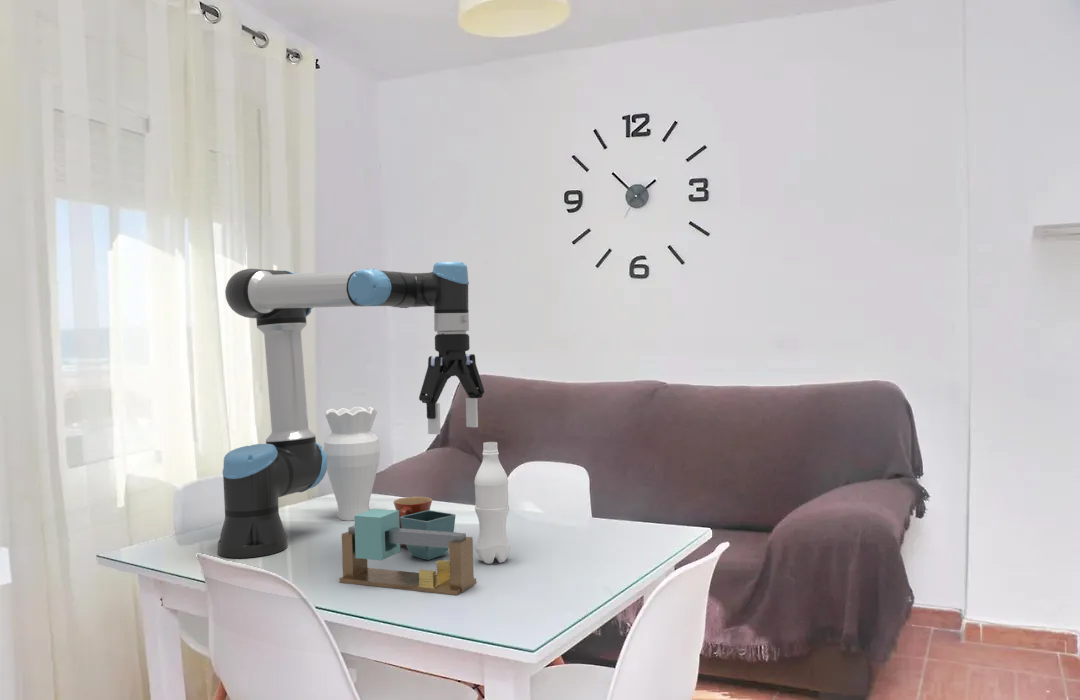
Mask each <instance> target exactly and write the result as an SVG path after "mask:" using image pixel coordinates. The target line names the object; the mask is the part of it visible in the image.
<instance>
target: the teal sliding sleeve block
mask: <svg viewBox="0 0 1080 700" xmlns="http://www.w3.org/2000/svg"><path fill="white" fill-rule="evenodd" d="M354 519H355V521H354V525H355V552H356V558H360V559H367V560H372V561H384V560H386V559H388V558H391V557H393V556H395V555H397V554H399V553H400V552H401V545H400V544H395V543H385V531H387V530H390V529H392V528H400V527H399V510H396V509H379V508H372V509H369V511H366V512H363V513H361V514H358V515H355V516H354Z"/></svg>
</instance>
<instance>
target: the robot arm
mask: <svg viewBox="0 0 1080 700" xmlns="http://www.w3.org/2000/svg"><path fill="white" fill-rule="evenodd" d="M468 271H469V270H468V266H467V264H466V263H464V262H461V261H439V262H435V263H434V264H433V267H432V271H431V272H413V273H412V272H404V271H403V272H402V271H392V270H391V271H390V270H382V269H381V270H379V269H376V268H364V269H359V270H352V271H350V270H349V271H327V272H326V271H325V272H306V273H305V272H303V273H297V272H292V271H289V270H277V269H276V270H274V269H259V268H247V269H242V270H239V271H237V272H235V273H234V274H233V275H232V276H231V277H230V278H229V279H228V281H227V283H226V286H225V290H224V291H225V299H226V302H227V305H228V306H229V307H230V309H231V310H232V311H234V312H235V314H237V315H239V316H241V317H244V318H248V319H255V320H256V328H257V329H258V330H259V331H261V332H262V334H263V336H264V349H265V350H264V351H265V361H266V375H267V376H266V377H267V387H268V399H269V400H268V401H269V412H270V415H269V416H270V423H271V424H270V425H271V426H270V427H271V433H270V434H269V436H268V437H267V438H266V439H265V443H256V444H251V445H245V446H241V447H238V448H234V449H232V450H230V451H228V452H227V453H226V454H225V455H224V457H223V467H222V476H223V477H222V478H223V481H222V482H223V497H224V498H223V499H224V501H223V502H224V522H223V524H222V527H221V528H222V529H221V532H220V537H219V540H218V542H217V554H218V555H219V556H220V557H223V558H231V559H242V558H243V559H245V558H247V559H248V558H257V557H263V556H268V555H269V556H270V555H271V554H272V555H273V554H276V553H280V552H282V551H284V550H286V549H287V548H288V545H289V543H288V542H289V541H288V540H289V539H288V535H287V533H286V531H285V528H284V525H283V523H282V519H281V516H280V511H279V498H281V497H284V496H285V497H286V496H288V495H292V494H296V493H304V492H305V491H308V490H309V489H313V488H315V487H316V486H318V485H320V483H321V481H322V480H323V479H324V477H325V476H326V473H327V456H326V453H325V451H324V448H323V447H322V445H320V443H318V442H317V439H316V438H317V437H316V434H315V433H313V432H312V430H310V429H309V417H308V407H307V404H308V403H307V393H306V383H305V381H306V380H305V369H304V366H305V365H304V355H303V354H304V353H303V343H302V342H303V341H302V330H303V329H304V328H305V327H306V326H307V317H308V316H309V315H310V314H311V313H312V309H314V308H342V307H343V308H345V307H349V308H350V307H392V308H400V309H409V308H423V307H433V310H434V311H433V312H434V313H433V317H434V318H433V323H434V325H433V328H434V332H436V334H435V335H434V350H435V351H436V352H437V353H438V355H437V356H435V355H434V356H433V355H431V356H428V358H427V359H428V361H427V368H426V372H425V374H424V375H425V376H424V379H423V383H422V385H421V390H420V394H419V396H418V400H419V401H421V403H422V404H426V418H427V434H428V435H441V404H440V403H439V402H438V400H439V398H440V397H441V394H442V393H443V390H444V388H445V386H446V383H447V382H448V380H449V379H451V377H457V378H458V380H459V383H460V384H461V386H462V388H463V389H464V391H465V393H466V395H467V396H468V397H465V426H466V428H478V427H479V399H481V398H483V395H484V394H485V388H484V385H483V382H482V380H481V376H480V373H479V370H478V367H477V364H476V363H477V362H476V355H475V354H474V353H470V354H467V353H466V352H468V351H469V350H470V348H471V347H470V335H469V334H468V333H467V332H469V331H470V320H469V318H470V317H469V315H470V314H469V311H470V310H469V284H470V281H469V273H468Z"/></svg>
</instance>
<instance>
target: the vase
mask: <svg viewBox="0 0 1080 700" xmlns="http://www.w3.org/2000/svg"><path fill="white" fill-rule="evenodd" d="M377 413H378V411H377V410H376V409H375V408H373V407H371V406H369V407H368V408H367V409H366V408H364V407H362V406H353V407H352V408H350V409H348V408H345V407H342V408H340V409H338V410H337V409H335V408H329V409H327V410H326V411H325V413H324V416H325V418H326V421H327V423H328V426H329V429H330V431H331V433H330V434H328V436H327V437H326V438H325V440H324V444H323V450H324V451H325V453H326V456H327V470H326V473H327V476H328V478H329V482H330V484H331V487H332V488H331V489H332V490H333V494H334V497H335V500H336V503H337V504H336V505H337V509H338V511H337V513H338V516H337V517H338V519H339V520H340V521H345V522H346V521H347V522H351V521H352V522H355V519H354V516H355V515H358V514H361V513H363V512H366V511H369V510H370V501H371V496H372V493H373V488H374V485H375V480H376V477H377V471H378V467H379V465H380V456H381V455H380V453H381V447H380V441H379V438H378V436H377V434H375V433H374V432H373V431H372V427H373V424H374V421H375V419H376V416H377Z"/></svg>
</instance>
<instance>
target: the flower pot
mask: <svg viewBox="0 0 1080 700" xmlns="http://www.w3.org/2000/svg"><path fill="white" fill-rule="evenodd" d="M400 520H401V526H402V528H403V529H416V530H429V531H442V532H455V525H456V524H455V523H456V514H454V513H449V512H443V511H437V510H431V509H430V510H428V511H423V512H419V513H414V514H410V515H406V516H402V517H400ZM406 546H407V548H406V549H407V550H408V552H409V553H410V554H411V556H412V557H414V558H418V559H423V560H427V561H429V560H432V559H435V558H439V557H443V556H446V554H447V552H448V551H449V548H442V547H430V546H418V545H406Z"/></svg>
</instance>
